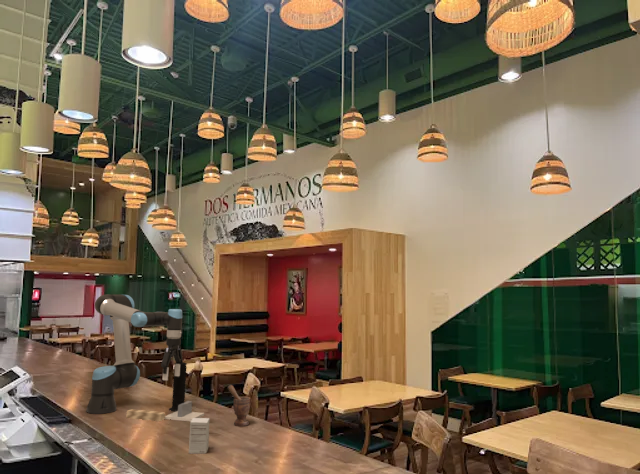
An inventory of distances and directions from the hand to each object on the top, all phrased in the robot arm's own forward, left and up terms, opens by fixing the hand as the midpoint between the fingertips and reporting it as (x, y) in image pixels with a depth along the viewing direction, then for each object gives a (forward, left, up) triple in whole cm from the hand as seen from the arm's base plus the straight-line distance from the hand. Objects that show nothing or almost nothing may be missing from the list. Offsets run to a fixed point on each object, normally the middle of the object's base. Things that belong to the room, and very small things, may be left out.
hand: (171, 378), depth 266 cm
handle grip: (-4, +17, -20) cm, 27 cm away
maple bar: (-9, -8, -20) cm, 24 cm away
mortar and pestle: (+41, -4, -20) cm, 46 cm away
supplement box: (+41, -48, -20) cm, 66 cm away
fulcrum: (+8, +2, -20) cm, 22 cm away
